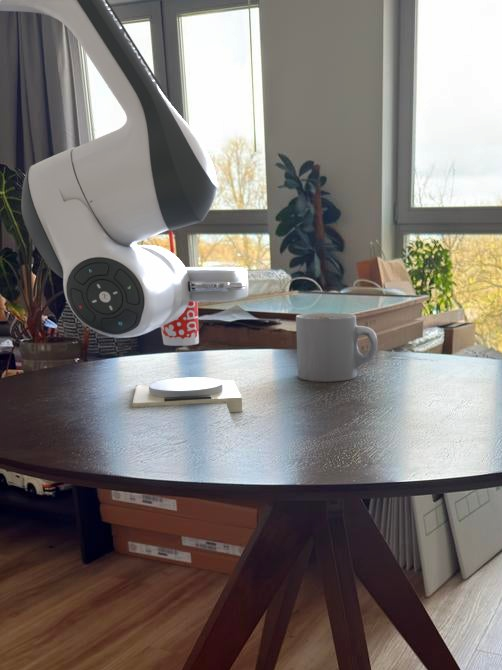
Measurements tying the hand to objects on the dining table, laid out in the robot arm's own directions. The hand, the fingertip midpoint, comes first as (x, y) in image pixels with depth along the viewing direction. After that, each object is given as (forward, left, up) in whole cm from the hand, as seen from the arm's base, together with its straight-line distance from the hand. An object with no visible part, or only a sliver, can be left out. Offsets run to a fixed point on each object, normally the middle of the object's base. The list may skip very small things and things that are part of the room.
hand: (176, 280), depth 95 cm
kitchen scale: (0, +1, -17) cm, 17 cm away
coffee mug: (+25, +17, -17) cm, 35 cm away
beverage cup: (0, -1, -8) cm, 8 cm away
